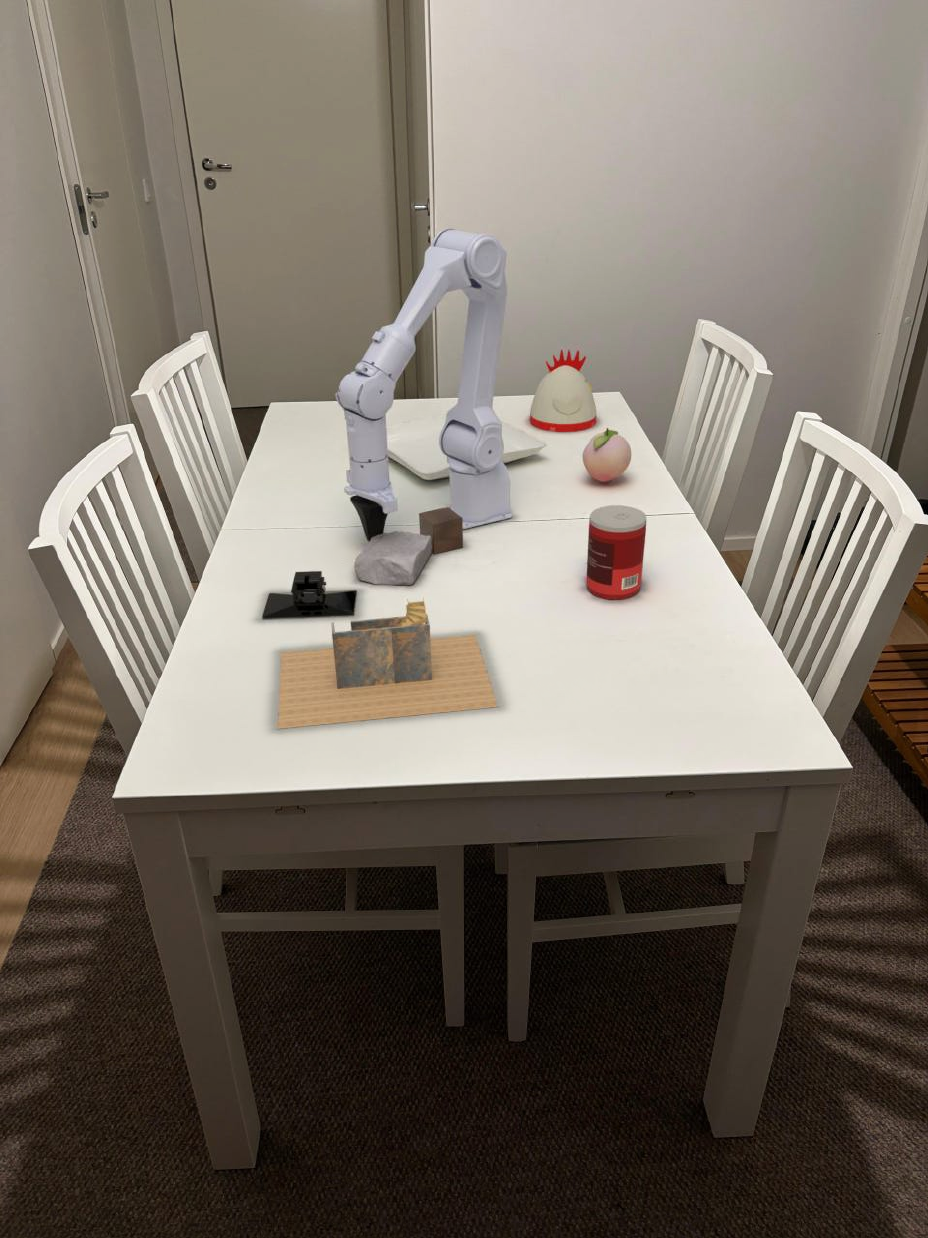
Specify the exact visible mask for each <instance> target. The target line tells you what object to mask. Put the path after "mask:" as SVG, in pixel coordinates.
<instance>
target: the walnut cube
mask: <svg viewBox="0 0 928 1238" xmlns="http://www.w3.org/2000/svg"><path fill="white" fill-rule="evenodd" d="M418 518H419V519H418V520H419V522H418V524H419V534H421V535H425V536H428V535H429V536H431V544H432V551H431V554H433V555H438V554H442V553H447V552H451V551H454V550H458V549H463V548H464V529H463V521H462V517H461V516H459V515H458V514H457V513H455V512H454V511H453V510H451V509H450V506H445V507H441V508H436V509H431V510H426V511H423V512H418Z"/></svg>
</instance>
